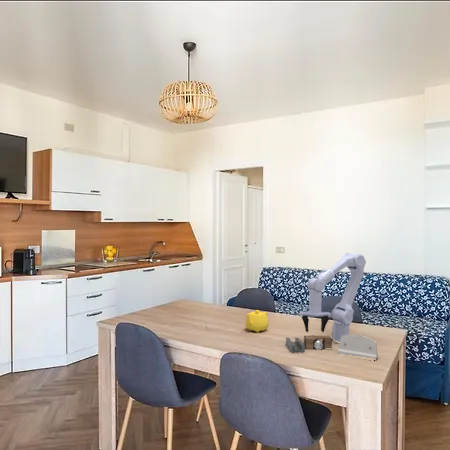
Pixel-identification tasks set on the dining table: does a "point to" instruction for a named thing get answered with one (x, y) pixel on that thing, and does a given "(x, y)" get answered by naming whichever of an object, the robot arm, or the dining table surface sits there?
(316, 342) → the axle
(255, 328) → the teapot
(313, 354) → the dining table surface
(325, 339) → the beam
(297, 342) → the v block
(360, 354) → the hinge
